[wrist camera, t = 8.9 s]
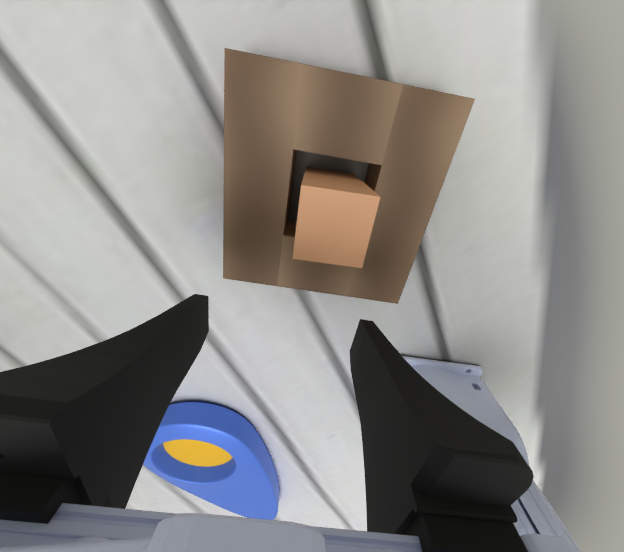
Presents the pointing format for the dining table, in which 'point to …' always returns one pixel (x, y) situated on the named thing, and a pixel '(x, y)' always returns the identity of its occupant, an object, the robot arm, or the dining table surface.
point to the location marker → (215, 459)
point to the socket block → (329, 168)
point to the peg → (334, 218)
